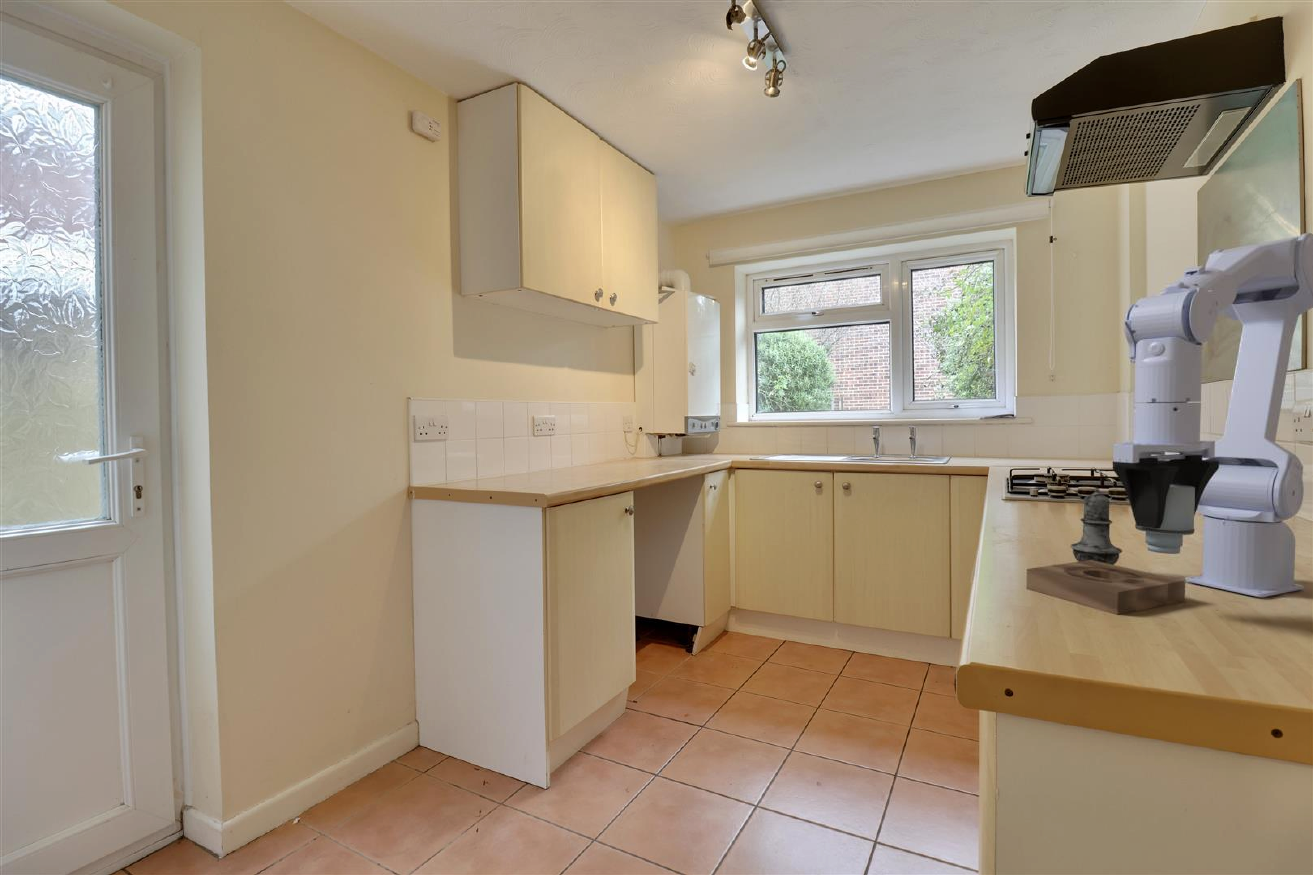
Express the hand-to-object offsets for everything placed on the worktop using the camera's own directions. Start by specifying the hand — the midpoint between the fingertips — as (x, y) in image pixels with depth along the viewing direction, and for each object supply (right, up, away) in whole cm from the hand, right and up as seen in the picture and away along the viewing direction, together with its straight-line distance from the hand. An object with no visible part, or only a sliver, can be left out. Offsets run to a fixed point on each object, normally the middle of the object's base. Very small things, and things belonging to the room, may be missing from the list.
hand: (1163, 524), depth 69 cm
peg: (0, -3, 0) cm, 3 cm away
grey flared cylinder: (+4, -9, +17) cm, 20 cm away
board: (-2, -10, +7) cm, 12 cm away
